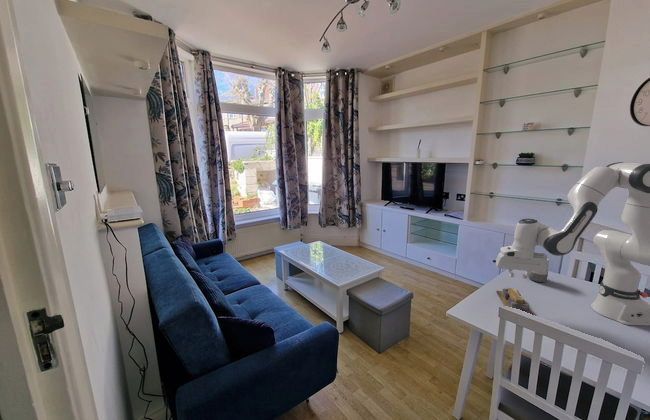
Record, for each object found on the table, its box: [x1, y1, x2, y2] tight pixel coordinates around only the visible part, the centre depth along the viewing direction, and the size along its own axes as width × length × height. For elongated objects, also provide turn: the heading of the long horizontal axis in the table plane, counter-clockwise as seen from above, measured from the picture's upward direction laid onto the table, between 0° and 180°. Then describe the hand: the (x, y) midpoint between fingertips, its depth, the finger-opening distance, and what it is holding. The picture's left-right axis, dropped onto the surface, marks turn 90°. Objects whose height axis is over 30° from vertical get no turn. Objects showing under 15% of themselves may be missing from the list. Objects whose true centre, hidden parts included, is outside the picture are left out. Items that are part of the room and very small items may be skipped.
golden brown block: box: [507, 287, 523, 303], centre depth 136 cm, size 3×11×5 cm, turn 163°
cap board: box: [495, 287, 533, 314], centre depth 136 cm, size 10×20×4 cm, turn 163°
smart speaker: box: [527, 258, 550, 283], centre depth 157 cm, size 10×9×14 cm
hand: (518, 277), depth 133 cm, fingers open, 4 cm apart
